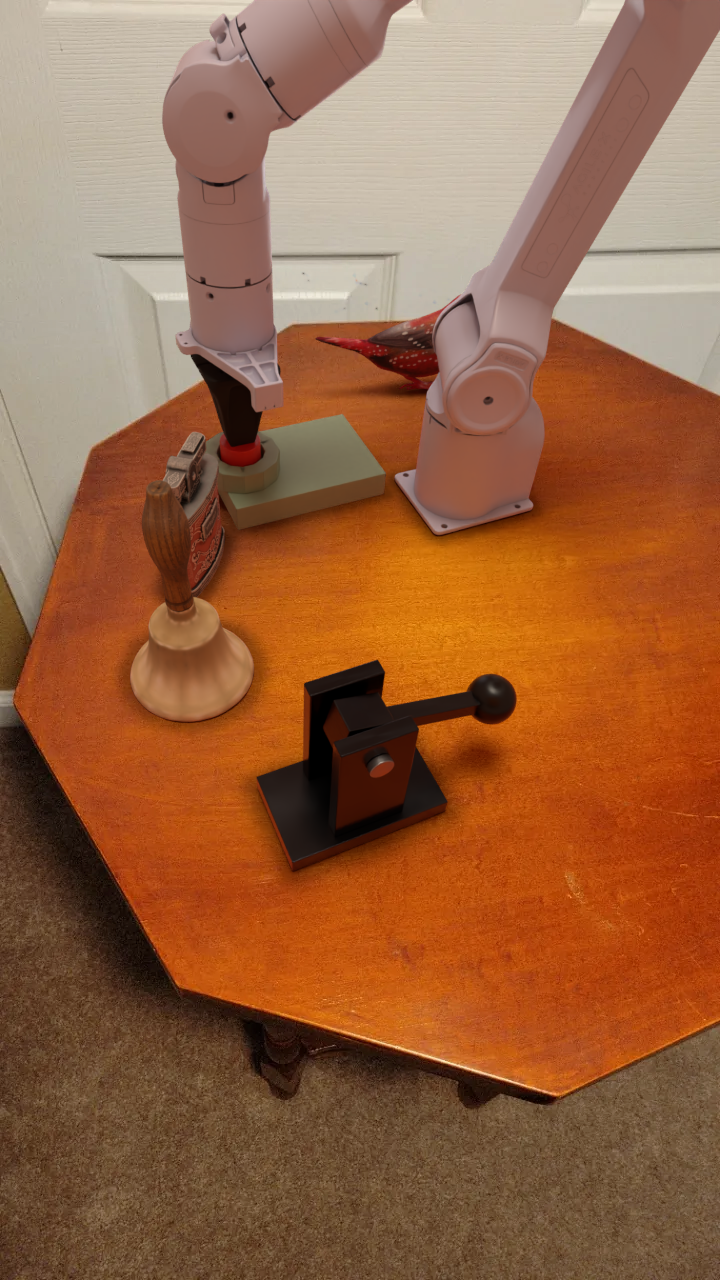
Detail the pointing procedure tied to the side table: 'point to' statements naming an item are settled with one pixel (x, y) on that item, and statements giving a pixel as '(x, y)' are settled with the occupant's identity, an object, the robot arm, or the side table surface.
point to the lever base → (348, 777)
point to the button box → (299, 472)
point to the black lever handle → (423, 708)
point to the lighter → (198, 507)
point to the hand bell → (184, 629)
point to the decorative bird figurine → (400, 349)
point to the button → (240, 453)
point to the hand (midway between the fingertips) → (240, 439)
